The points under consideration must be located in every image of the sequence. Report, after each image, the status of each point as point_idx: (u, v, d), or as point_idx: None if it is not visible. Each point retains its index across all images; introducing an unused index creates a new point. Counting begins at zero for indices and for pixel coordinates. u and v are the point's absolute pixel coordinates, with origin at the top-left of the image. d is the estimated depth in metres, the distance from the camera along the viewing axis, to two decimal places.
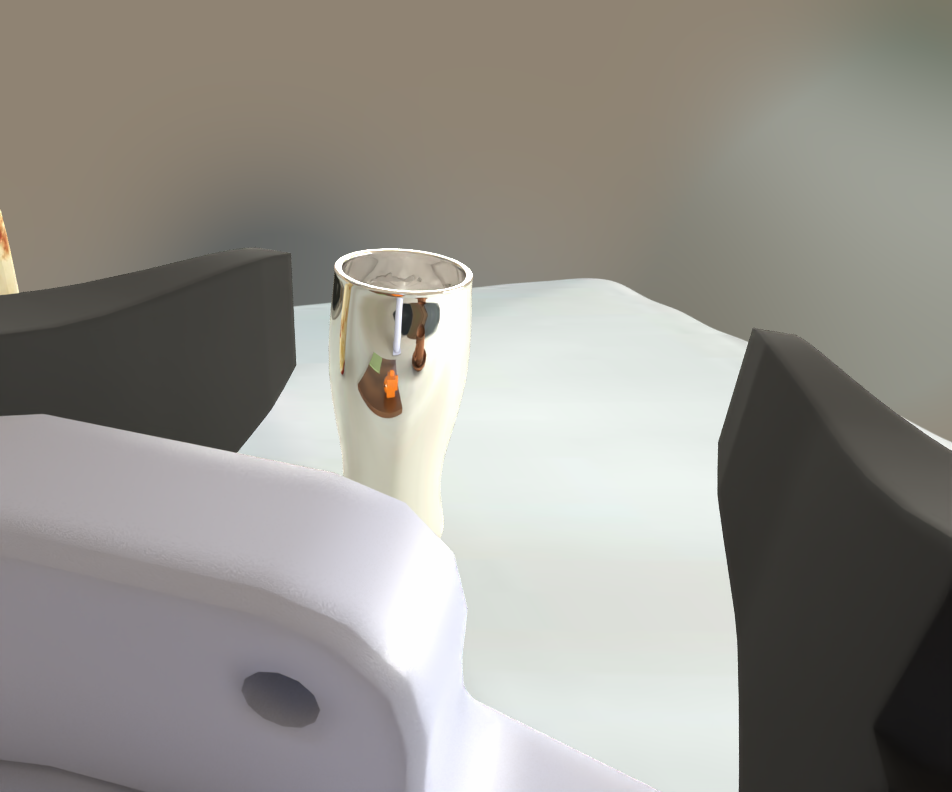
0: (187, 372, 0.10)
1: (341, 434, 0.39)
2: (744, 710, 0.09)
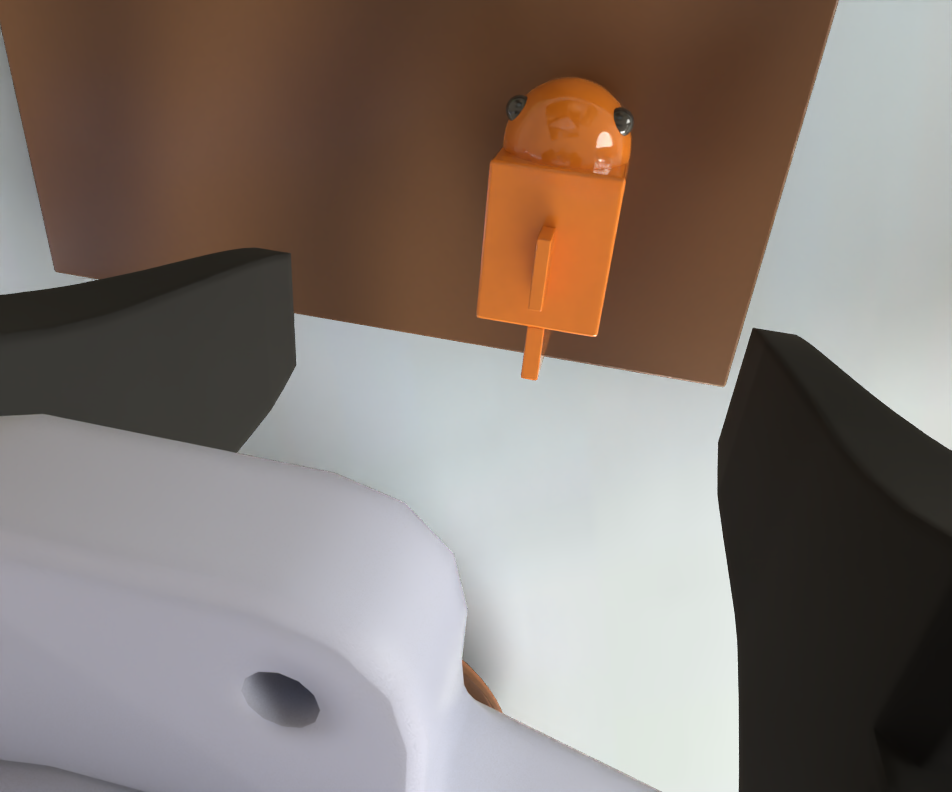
0: (187, 372, 0.10)
1: None
2: (744, 710, 0.09)
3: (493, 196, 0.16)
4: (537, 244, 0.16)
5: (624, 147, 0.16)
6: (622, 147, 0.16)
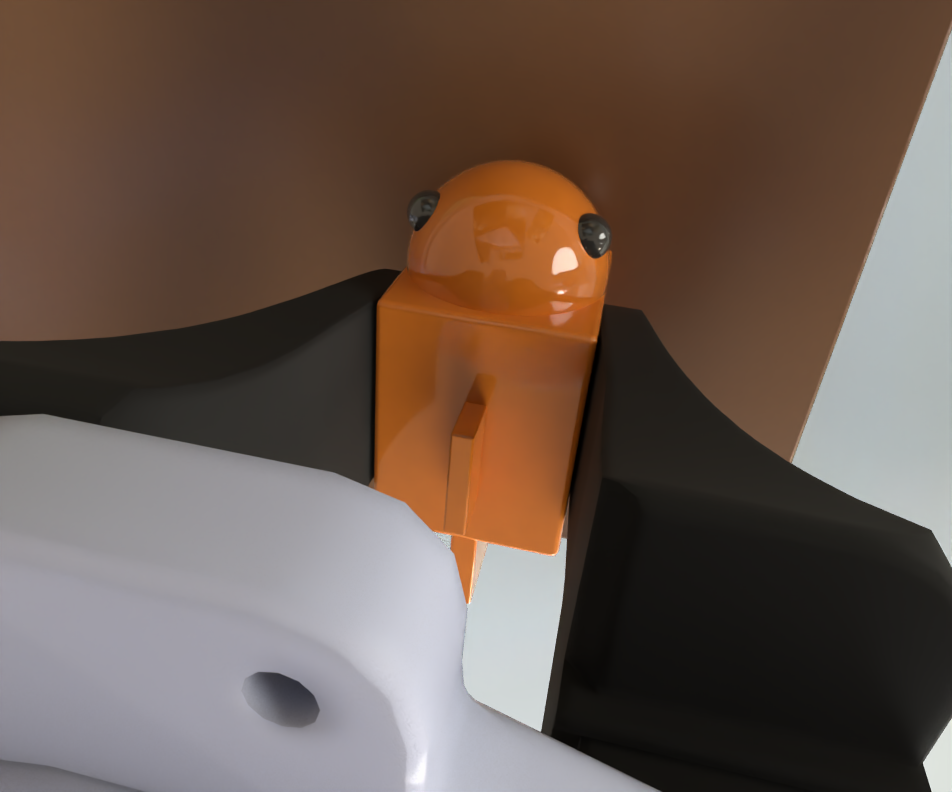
0: (344, 401, 0.10)
1: None
2: (552, 666, 0.09)
3: (385, 355, 0.10)
4: (452, 443, 0.09)
5: (596, 276, 0.10)
6: (593, 277, 0.10)
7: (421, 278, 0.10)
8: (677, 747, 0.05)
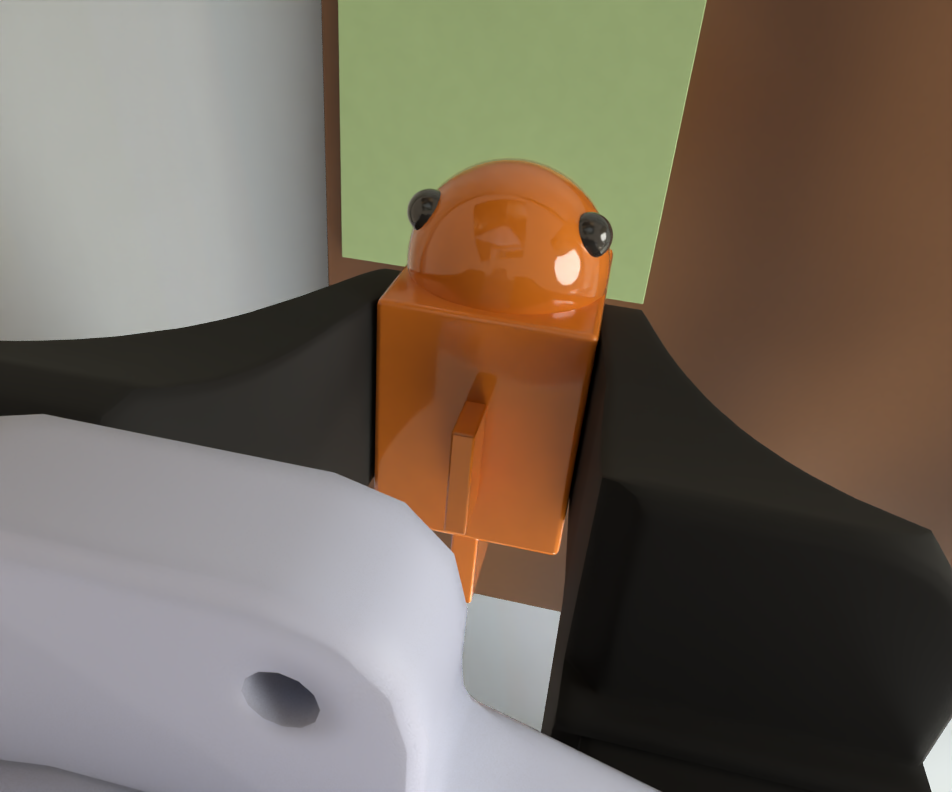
0: (344, 402, 0.10)
1: None
2: (552, 666, 0.09)
3: (385, 354, 0.10)
4: (453, 441, 0.09)
5: (597, 274, 0.10)
6: (594, 276, 0.10)
7: (422, 277, 0.10)
8: (676, 749, 0.05)
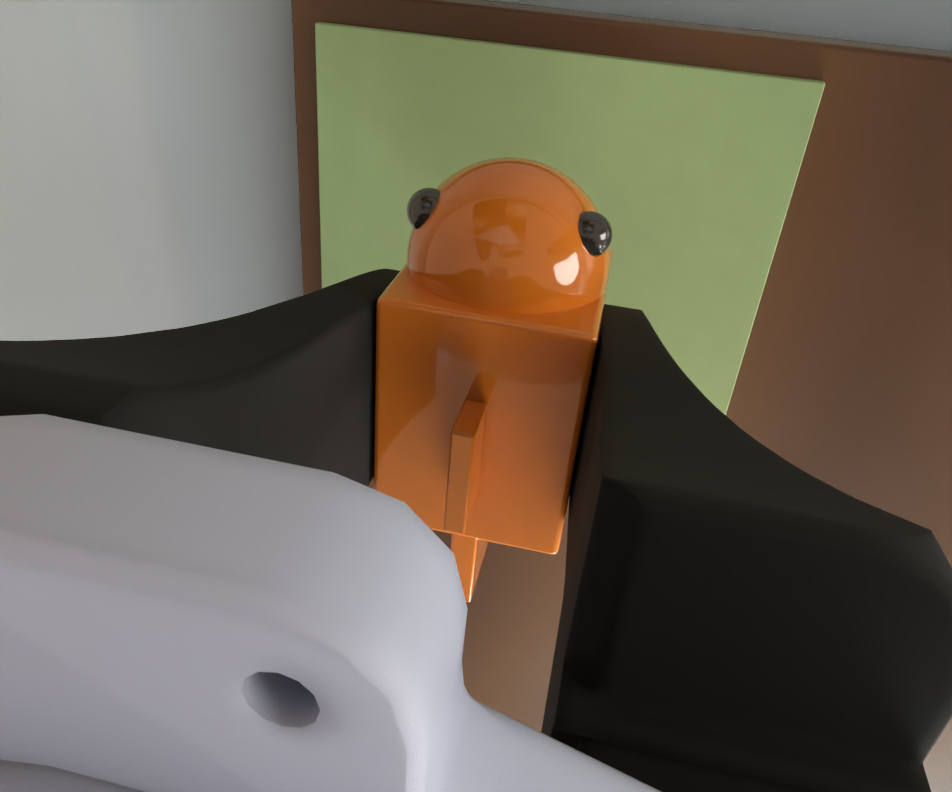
0: (344, 402, 0.10)
1: None
2: (552, 666, 0.09)
3: (385, 353, 0.10)
4: (452, 440, 0.09)
5: (597, 274, 0.10)
6: (593, 275, 0.10)
7: (421, 276, 0.10)
8: (675, 747, 0.05)
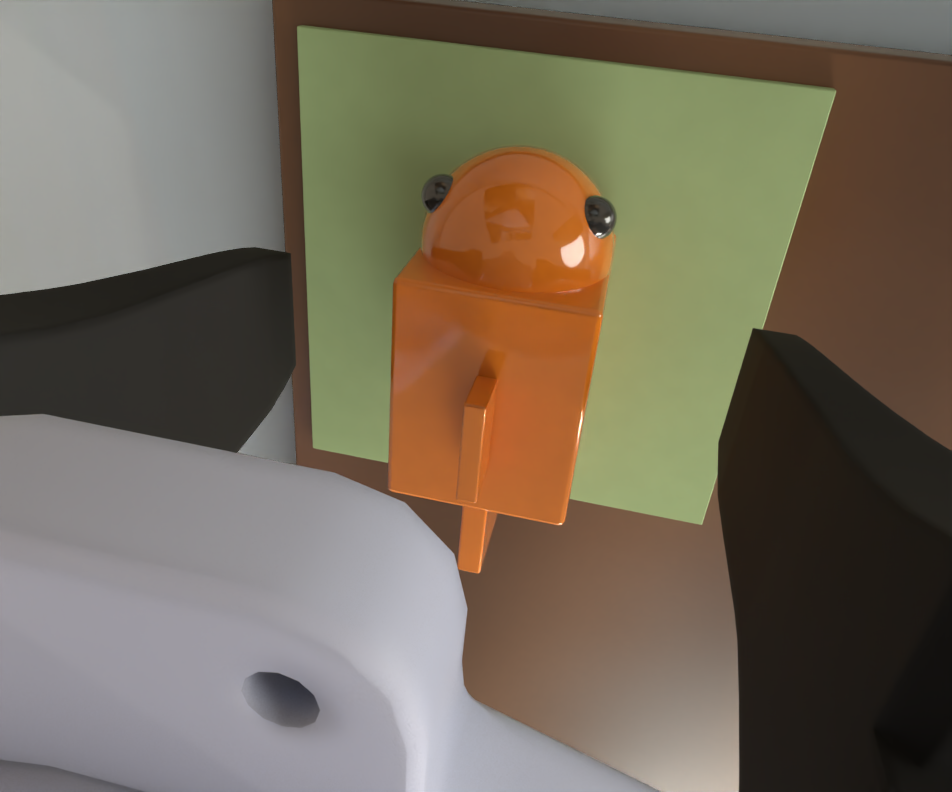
0: (187, 372, 0.10)
1: None
2: (744, 710, 0.09)
3: (401, 331, 0.10)
4: (465, 413, 0.10)
5: (601, 256, 0.10)
6: (599, 256, 0.10)
7: (435, 257, 0.10)
8: None
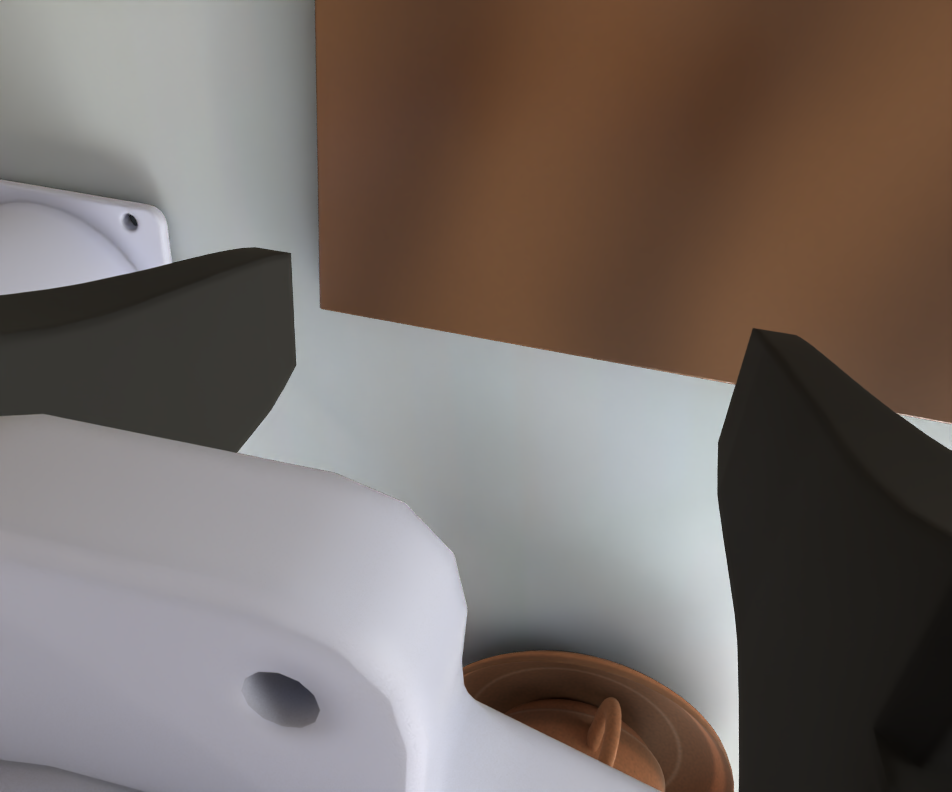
0: (187, 372, 0.10)
1: None
2: (744, 710, 0.09)
3: None
4: None
5: None
6: None
7: None
8: None
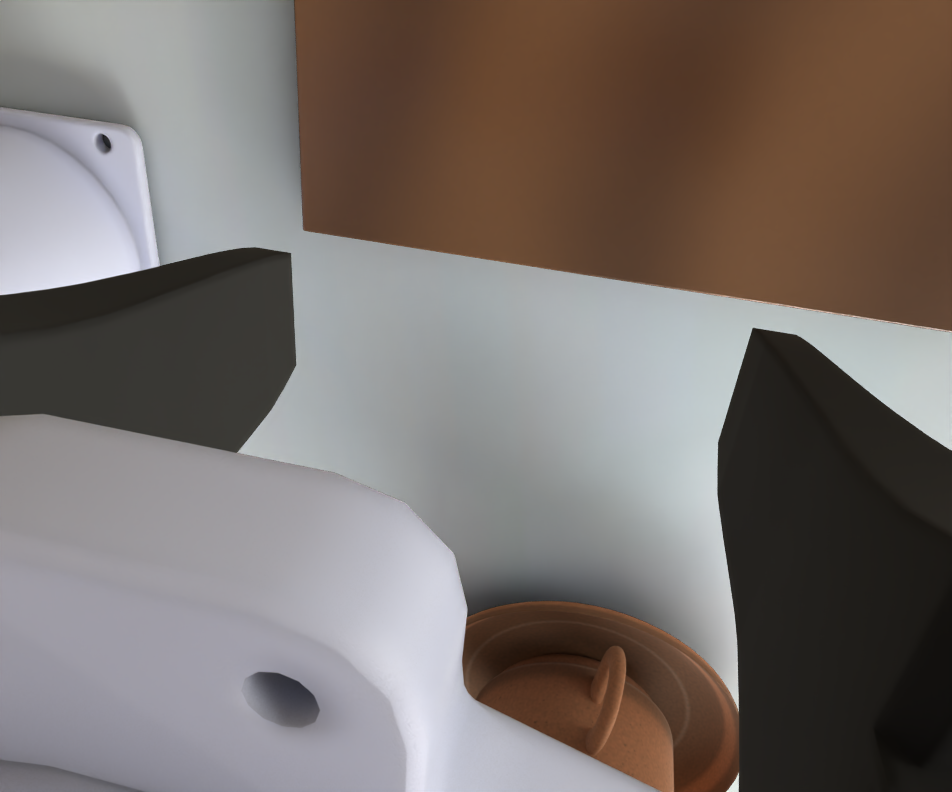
0: (187, 372, 0.10)
1: None
2: (744, 710, 0.09)
3: None
4: None
5: None
6: None
7: None
8: None
